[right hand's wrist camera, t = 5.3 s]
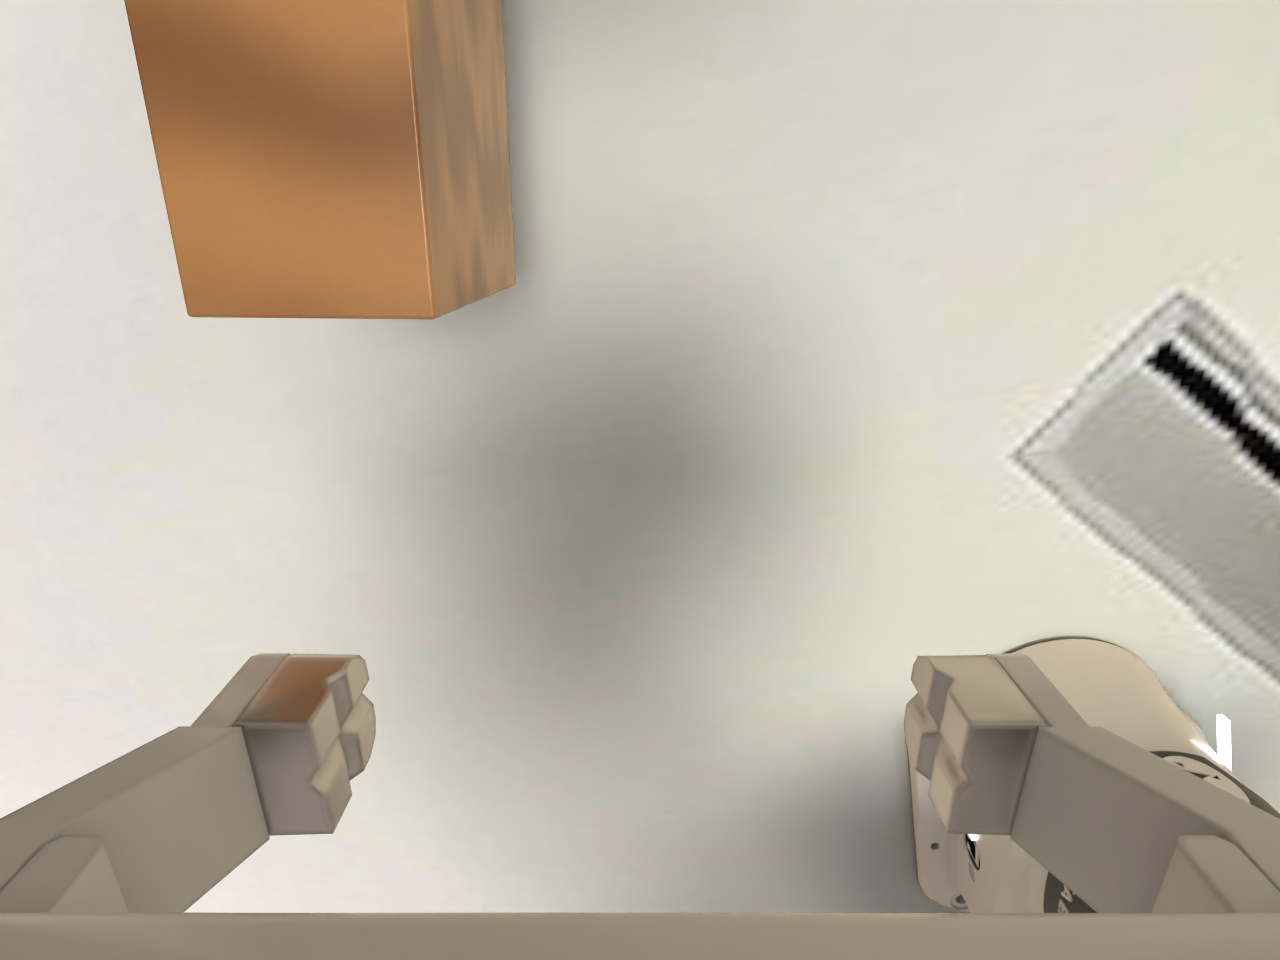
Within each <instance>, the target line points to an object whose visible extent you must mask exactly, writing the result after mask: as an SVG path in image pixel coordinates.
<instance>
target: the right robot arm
mask: <svg viewBox="0 0 1280 960" xmlns="http://www.w3.org/2000/svg"><path fill="white" fill-rule="evenodd" d="M368 681H369V676H368V671H367V666H366V662H365V660H364V659H363V658H362V657H361V656H360V655H333V654H258V655H255V656H252V657H250V658H249V659H248V661H247V662H246V663H245V664H244V665H243V666H242V668H241V669H240V670H239V671H238V672H237V673H236V674H235V676H234V677H233V678H232V679H231V680H230V681H229V683H228V684H227V685H226V686H225V687H224V688H223V690H222V691H221V692H220V693H219V694H218V695H217V696H216V698H215V699H214V700H213V701H212V702H211V703H210V705H209V706H208V707H207V708H206V709H205V710H204V711H203V713H202V714H201V715H200V716H199V717H198V718H197V720H196V721H195V722H194V723H193V724H192V725H191V727H178V728H176V729H174V730H172V731H170V732H168V733H166V734H164V735H162V736H160V737H158V738H156V739H154V740H152V741H150V742H148V743H147V744H145V745H143V746H141V747H139V748H137V749H135V750H133V751H131V752H129V753H127V754H125V755H123V756H121V757H119V758H117V759H115V760H114V761H112V762H110V763H108V764H106V765H104V766H102V767H100V768H98V769H96V770H94V771H92V772H90V773H88V774H86V775H84V776H82V777H80V778H79V779H77V780H75V781H73V782H71V783H69V784H67V785H65V786H63V787H61V788H59V789H57V790H55V791H53V792H51V793H49V794H47V795H45V796H44V797H42V798H40V799H38V800H36V801H34V802H32V803H30V804H28V805H26V806H24V807H22V808H20V809H18V810H16V811H14V812H12V813H11V814H9V815H7V816H5V817H3V818H1V819H0V960H1280V814H1279V813H1278V812H1277V811H1276V810H1275V809H1274V808H1273V807H1272V806H1271V805H1270V804H1268V803H1267V802H1266V801H1265V800H1264V799H1262V798H1261V797H1260V796H1258V795H1257V794H1255V793H1254V792H1253V791H1251V790H1250V789H1248V788H1247V787H1246V786H1244V785H1243V784H1242V783H1241V782H1240V780H1239V779H1238V778H1237V777H1236V776H1235V775H1234V773H1233V772H1232V771H1231V724H1230V720H1228V719H1227V718H1226V717H1225V716H1224V715H1222V714H1219V715H1216V718H1217V753H1218V755H1217V754H1216V753H1215V752H1214V751H1213V749H1212V748H1211V747H1210V746H1209V745H1208V744H1207V743H1206V742H1207V737H1206V734H1205V733H1204V731H1203V730H1202V729H1201V728H1200V727H1199V725H1198V724H1197V723H1196V722H1195V721H1194V720H1193V719H1192V718H1191V717H1190V716H1188V715H1187V714H1186V713H1184V712H1183V711H1181V710H1180V709H1178V707H1177V706H1176V705H1175V703H1174V702H1173V701H1172V699H1171V698H1170V696H1169V695H1168V694H1167V692H1166V691H1165V689H1164V687H1163V686H1162V684H1161V683H1160V681H1159V679H1158V678H1157V676H1156V675H1155V673H1154V672H1153V671H1152V670H1151V668H1150V667H1149V666H1148V665H1147V664H1146V663H1145V662H1144V661H1142V660H1141V659H1140V658H1139V657H1137V656H1136V655H1134V654H1133V653H1131V652H1129V651H1127V650H1125V649H1123V648H1121V647H1119V646H1116V645H1113V644H1110V643H1106V642H1102V641H1097V640H1090V639H1060V640H1053V641H1047V642H1042V643H1038V644H1034V645H1031V646H1028V647H1025V648H1022V649H1020V650H1017V651H1015V652H1013V653H1008V654H987V655H950V656H918V657H917V659H916V661H915V663H914V665H913V670H912V675H911V681H912V682H913V684H914V686H915V688H916V690H917V691H918V693H917V694H916V695H915V696H914V697H913V698H912V699H911V700H910V701H909V702H908V703H907V705H906V712H905V720H904V729H905V740H906V745H907V749H908V754H909V767H910V780H911V793H912V807H913V820H914V833H915V846H916V859H917V871H918V880H919V884H920V886H921V888H922V890H923V892H924V893H925V895H926V896H927V897H928V898H930V899H932V900H933V901H935V902H937V903H939V904H941V905H944V906H946V907H949V908H952V909H955V910H959V911H963V912H968V913H183V912H184V911H186V910H187V909H188V908H189V907H190V906H191V905H193V904H194V903H195V902H196V901H197V900H198V899H200V898H201V897H202V896H203V895H204V894H206V893H207V892H208V891H209V890H210V889H211V888H213V887H214V886H215V885H216V884H217V883H218V882H220V881H221V880H222V879H223V878H224V877H225V876H227V875H228V874H229V873H230V872H231V871H232V870H234V869H235V868H236V867H237V866H238V865H239V864H241V863H242V862H243V861H244V860H245V859H247V858H248V857H249V856H250V855H251V854H252V853H254V852H255V851H256V850H257V849H258V848H259V847H261V846H262V845H263V844H264V843H265V842H266V841H268V840H269V835H300V834H333V832H334V830H335V828H336V826H337V824H338V822H339V820H340V818H341V816H342V814H343V812H344V810H345V808H346V806H347V804H348V802H349V800H350V798H351V796H352V792H351V786H350V780H351V779H353V778H354V777H355V776H357V775H358V774H360V773H361V772H362V771H364V769H365V767H366V765H367V763H368V760H369V758H370V756H371V753H372V748H373V744H374V739H375V729H376V718H375V711H374V705H373V703H372V702H371V701H370V700H369V699H368V698H367V697H366V696H365V695H364V694H363V693H362V691H363V690H364V688H365V686H366V684H367V682H368Z"/></svg>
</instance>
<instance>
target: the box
mask: <svg viewBox="0 0 1280 960" xmlns="http://www.w3.org/2000/svg"><path fill="white" fill-rule="evenodd" d="M125 5H126V10H127V15H128V20H129V25H130V30H131V35H132V40H133V45H134V50H135V55H136V60H137V65H138V70H139V75H140V80H141V85H142V90H143V95H144V100H145V105H146V110H147V115H148V119H149V124H150V129H151V134H152V139H153V144H154V149H155V154H156V159H157V164H158V169H159V174H160V179H161V184H162V189H163V194H164V199H165V204H166V209H167V214H168V219H169V224H170V229H171V234H172V238H173V243H174V248H175V253H176V258H177V263H178V268H179V273H180V278H181V283H182V288H183V293H184V298H185V303H186V308H187V313H188V315H189V316H191V317H240V318H349V319H435V318H437V317H439V316H442V315H444V314H446V313H449V312H451V311H454V310H456V309H458V308H461V307H463V306H465V305H468V304H470V303H472V302H475V301H477V300H480V299H482V298H484V297H487V296H489V295H491V294H494V293H496V292H498V291H501V290H503V289H506V288H508V287H510V286H513V285H515V283H516V280H515V260H514V240H513V219H512V199H511V179H510V158H509V138H508V118H507V98H506V77H505V57H504V37H503V16H502V0H125Z"/></svg>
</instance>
